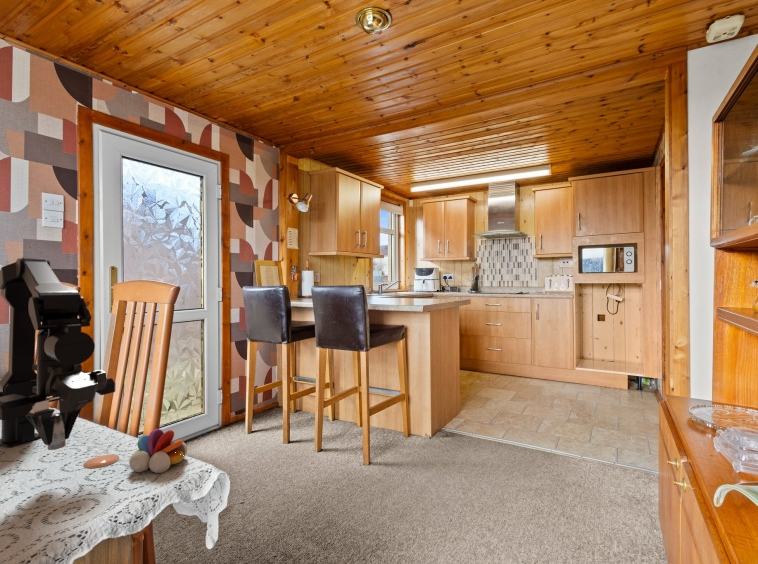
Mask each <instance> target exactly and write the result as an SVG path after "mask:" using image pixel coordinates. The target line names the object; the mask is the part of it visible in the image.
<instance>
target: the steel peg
mask: <svg viewBox="0 0 758 564" xmlns="http://www.w3.org/2000/svg"><path fill="white" fill-rule="evenodd" d="M66 440H67V439H66V438H65V413H60V412H56V413H55V412H54V413H53V414H52V416H51V444H50V445H47V450H48V451H55V450H59V449H62V448H65V447H66Z"/></svg>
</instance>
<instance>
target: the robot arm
mask: <svg viewBox="0 0 758 564" xmlns="http://www.w3.org/2000/svg"><path fill="white" fill-rule="evenodd" d="M0 296H1V298H2V299H3V300H4V302H6V304H7V306H9V335H8V336H9V338H8V339H9V340H8V344H9V345H8V371H7V372H6V373H5V374H4V376H3V377H2V378H1V379H0V421H1V438H0V446H4V447H7V448H10V447H11V448H12V447H14V446H18V445H20V444H21V445H22V444H25V443H27V442H31V441H34V440H36V439H41V440H42V442H43V444H44V445H46V446H48V445H50V444H51V416H52V414H55V410H56V409H53V408H50V403H52V402H53V403H54V402H57V401H58V407H59V413H65V438H66V440H68V439H69V438H70V436H71V433H72V430H73V428H74V426H75V424H76V422H77V418H78V417H79V414H80V413H81V411H82V409H83V408H84V407H85V406H87V405H88V404H91V403H92V402H93V401H94V400H95V399H96V394H99V396H104V395H108V394H112V393H115V392H116V388H117V387H116V384H117V383H116V382H115V380H114V379H113V378H112V377H107V371H105V370H103V369H97V370H93V371H91V372H83V365H82V364H83V363H85V362H87V360H89V359H90V358H91V357H92V356H93V354H94V352H95V348H96V345H95V342H94V339H93V338H92V337H91V335H90V334H88V333H86V332H84V331H82V328H86V327H90V326H91V323H90V322H91V321H92V316H91V313H90V310H89V307H88V305H87V302H86V301H85V298H84V297H83V296H82V295H81V293H80V292H79V291H78V290H77V289H76V288H74V286H70V285H69V286H68V285H65V284H62V282H61V281H60V279H59V278H58V276H57V275H56V274H55V272H54V271H53V269H52V268H51V261H50V259H48V258H47V259H46V258H44V257H24V256H23V257H21V258H17V260H16V261H15V262H13V263H10V264H7V265H4V266H1V268H0ZM36 330H37V334H36ZM35 360H36V362H35Z"/></svg>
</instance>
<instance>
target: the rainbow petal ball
mask: <svg viewBox="0 0 758 564" xmlns="http://www.w3.org/2000/svg"><path fill="white" fill-rule="evenodd" d="M174 437H175V432H174V431H173V430H171V429H168V430H166V431H165V432H164V431H163V430H162V429H160V428H155V429H153V430H151V432H150V433H149V434H148V435H147V434H146V435H143V436H140V438H139V439H138V440H137V448H138V449H137V450H136V451H134V453H133V454H132V455H130V456H131V457H130V458H129V462H128V463H129V468H130V469H131V470H132V471H133V472H135V473H142V472H145V471H147V470H148V469H149V470H151V472H153V473H156V474H162V473H165V472H166V471H168V470H169V468H170V466H171V465H174V464H179V463H181V462H182V461H183V459H184V458H185V456H186V455H187V453H188V446H187V444H186V443H185V442H184V441H183V440H182V439H178V440H175V441H173V440H174ZM175 452H176V453H175ZM180 454H181V455H180ZM183 455H184V456H183Z"/></svg>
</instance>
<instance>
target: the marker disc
mask: <svg viewBox="0 0 758 564" xmlns="http://www.w3.org/2000/svg"><path fill="white" fill-rule="evenodd" d="M119 459H120V456H119V455H117V454H102V455H99V456H95V457H92V458H90V459H88V460H86V461H85V462H84V463H83V464H82V465H83V466H82V467H84V468H86V469H97V468H104V467H107V466H109V465H112V464H115V463H116V462H117V460H119Z"/></svg>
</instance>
